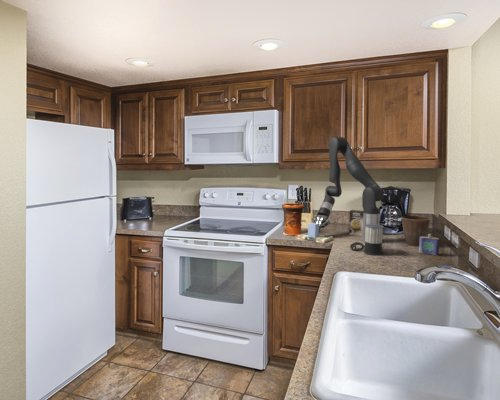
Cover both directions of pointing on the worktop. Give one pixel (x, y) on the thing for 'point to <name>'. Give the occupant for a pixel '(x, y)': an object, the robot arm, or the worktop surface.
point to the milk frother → (371, 240)
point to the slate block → (313, 230)
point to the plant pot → (414, 228)
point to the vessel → (292, 218)
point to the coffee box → (356, 222)
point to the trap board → (318, 239)
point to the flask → (429, 245)
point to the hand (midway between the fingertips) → (315, 232)
